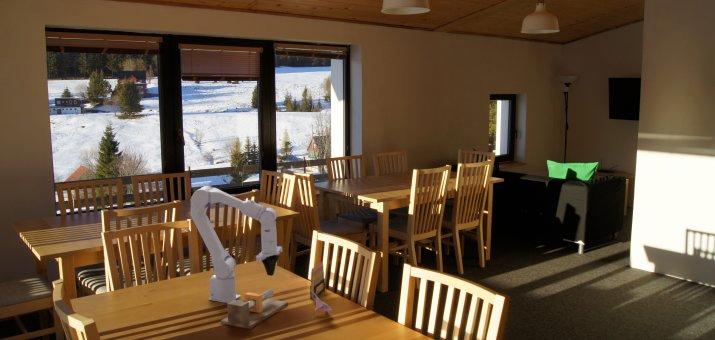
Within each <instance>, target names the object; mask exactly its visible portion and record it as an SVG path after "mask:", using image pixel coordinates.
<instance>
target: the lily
mask: <svg viewBox="0 0 715 340" xmlns="http://www.w3.org/2000/svg"><path fill="white" fill-rule="evenodd" d="M310 290H311V289H310V288H309V291H310ZM311 291H312V290H311ZM312 292H313V291H312ZM313 294H314V295H315V297H316V299H315V298H313V299H312V300H314V301H315V310H313V312H312V315H311V317H310V320H312V319H313V316H314V314H315V312H316V311H317V310H323V311H325V312H326V313H328V314H329V316H331V317H332V318H334V316H333V315H332V313H331V312H330V311H333V309H332V308H331V307H330V306H329V305H328V304H327V303H326V301H325V300H323V301H322V300H321V299H320V298H319V296H318V297H317V296H316V294H315V293H314V292H313Z"/></svg>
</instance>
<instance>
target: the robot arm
mask: <svg viewBox="0 0 715 340" xmlns="http://www.w3.org/2000/svg"><path fill="white" fill-rule="evenodd" d="M189 200H190V216H191V219H192V220H193V223H194V225H195V227H196V228H197V230H198V232H199V235H200V237H201V238H202V241H203V242H204V244H205V246H206V248H207V251H208V252H209V254H210V256H211V264H212V266H213V273H214V275H212V276H211V277H210V280H209V284H208V285H209V298H208V300H209V301H214V302H219V303H226V304H228V303H229V302H231V301H233V300H238V299H239V298H241V295H240V294H237V292H236V291H237V289H236V288H237V287H236V274H235V272H234V269H236V266H237V263H236V260H235V259H234V257H232V256H231V255H230V253H229V252H228V251H227V250H226V249H225V248H224V246H223V244H222V243H221V241H220V239H219V237H218V234H217V233H216V230H215V229H214V227H213V225H212V223H211V221H210V219H209V217H208V215H207V210H208V208H209V206H210V205H212V204H213V205H214V204H217V203H221V204H224V205H225V206H230V207H233V208H235V209H238V210H239V211H240V212H241V214H242V215H243V216H246V217H248V218H251V219H253V220H256V221H259V223H260V224H261V226H260V227H261V228H260V235H261V252H259V254H258V255H256V256H255V260H256V261H255V262H260V263H261V262H262V264H263V266H264V269H265V271H266V275H267V276H271V277H272V276H274V274H275V269H276V265H277V263H278V261H279V258H280V256H279V255H280V253H282V252H283V246H280V245H279V246H278V242H277V241H278V236H277V235H278V233H277V224H276V223H277V221H276V219H277V217H278V214H277V213H278V212H277V211H276V209H275V208H273V207H271V206H267V205H261V204H259V203H257V202H255V200H254V199H251V200H250V199H247V200H244V201H243V200H241V199H240V198H238V197H235V196H234V195H232V194H229V193H227V192H225V191H222V190H221V189H219V188H217V187H213V186H211V185H203V186H202V187H200V188H199V189H197V190H195V191H194V192H193V193H192V195H191V197H190V199H189Z"/></svg>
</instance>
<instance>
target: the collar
mask: <svg viewBox="0 0 715 340" xmlns="http://www.w3.org/2000/svg"><path fill="white" fill-rule="evenodd" d="M261 294H262V293H254V292H249V291H248V292H246V293H244V300H245V301H244V302H248V301H250V300H252V299H256V306H254V307H253V308H251V309H249V311H252V312H258V313H260V312H262V311H263V304H262V295H261Z"/></svg>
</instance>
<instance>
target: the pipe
mask: <svg viewBox="0 0 715 340" xmlns="http://www.w3.org/2000/svg"><path fill="white" fill-rule="evenodd" d="M260 294H261V295H262V302H263V301H264V300H266V299H270V298H271V297H273V296H274V294H275V293H274V290H273V289H270V288H269V289H268V290H265V291H264V292H262V293H260ZM248 302H249V309H251V308H253V307H254V306H256V299H251V300H250V301H248Z"/></svg>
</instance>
